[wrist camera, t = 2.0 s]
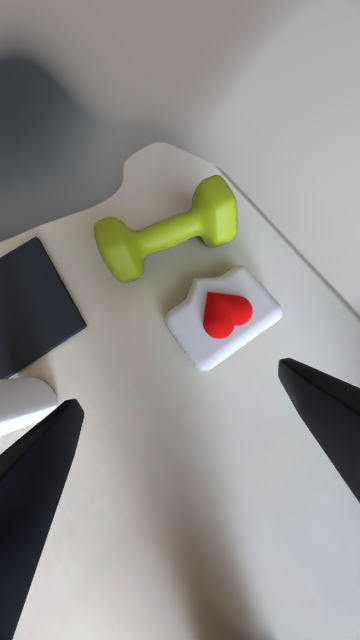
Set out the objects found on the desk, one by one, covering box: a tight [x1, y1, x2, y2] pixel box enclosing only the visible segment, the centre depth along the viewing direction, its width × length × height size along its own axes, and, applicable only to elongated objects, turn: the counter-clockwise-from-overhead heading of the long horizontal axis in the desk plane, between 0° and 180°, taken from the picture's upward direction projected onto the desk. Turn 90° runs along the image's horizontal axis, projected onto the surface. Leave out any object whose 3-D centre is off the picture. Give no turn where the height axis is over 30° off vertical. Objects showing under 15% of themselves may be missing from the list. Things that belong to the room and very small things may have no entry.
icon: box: [165, 265, 283, 371], centre depth 21 cm, size 12×4×10 cm
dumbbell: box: [94, 175, 238, 283], centre depth 23 cm, size 16×8×7 cm, turn 111°
